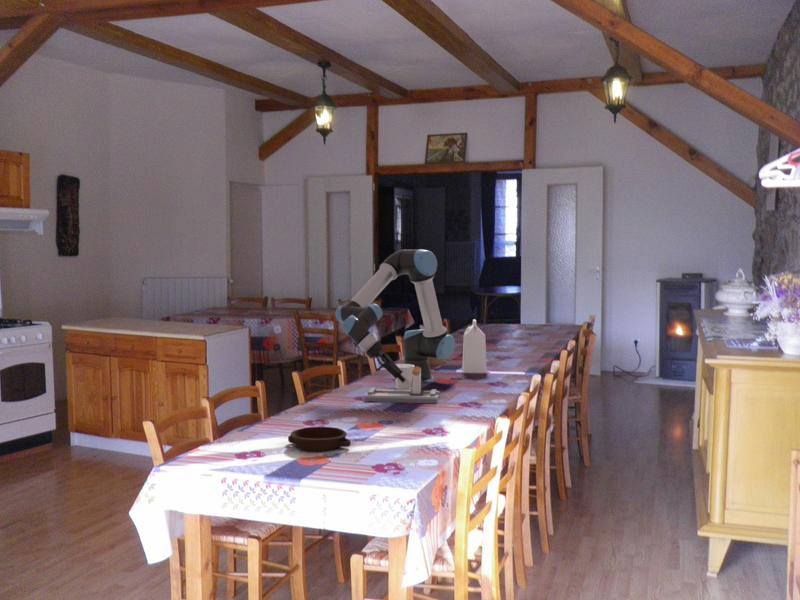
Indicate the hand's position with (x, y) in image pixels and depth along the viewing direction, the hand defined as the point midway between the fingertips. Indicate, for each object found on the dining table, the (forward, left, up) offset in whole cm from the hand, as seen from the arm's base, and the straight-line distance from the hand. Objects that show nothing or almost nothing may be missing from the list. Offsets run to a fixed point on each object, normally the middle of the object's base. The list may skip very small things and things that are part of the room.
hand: (410, 386), depth 331 cm
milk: (-77, -5, -6) cm, 77 cm away
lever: (-1, +3, -4) cm, 5 cm away
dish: (+80, +10, -6) cm, 81 cm away
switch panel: (+1, -3, -5) cm, 6 cm away
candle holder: (-87, -34, -6) cm, 93 cm away
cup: (-16, -12, -6) cm, 21 cm away
